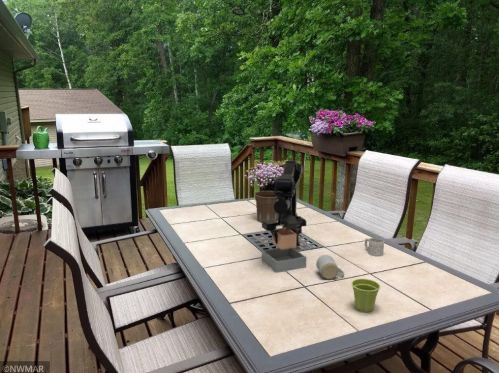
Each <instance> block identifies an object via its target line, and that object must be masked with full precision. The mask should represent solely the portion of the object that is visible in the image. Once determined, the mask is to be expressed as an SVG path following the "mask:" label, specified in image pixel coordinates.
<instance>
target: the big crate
mask: <svg viewBox="0 0 499 373" xmlns="http://www.w3.org/2000/svg"><path fill="white" fill-rule="evenodd" d="M261 261H262V262H263V263H264V264H265V265H266V266H268V267H269V268H270V269H271V270H272V271H273V272H274V273H276V274H277V273H283V272H289V271H294V270H299V269H300V270H301V269H306V268H307V256H306V255H304V254H302V252H300V251H298V250H297V249H296V248H289V249H282V250H281V249H280V248H279V247H276V248H270V249H269V248H268V249H262V250H261Z"/></svg>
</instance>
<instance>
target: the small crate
mask: <svg viewBox="0 0 499 373" xmlns="http://www.w3.org/2000/svg"><path fill="white" fill-rule="evenodd" d="M277 230H278V233H277V240H278V241H277V244H276V243H275V241H274V239H273V236H272V235H271V237H272V238H271V243H272V244H273V245H275V246H276V248H280V249H281V250H282V249H289V248H294V249H296V248H297V246H296V236H297V234H296V233H294V232H293V231H291V230H288V229H286V228H282V227H281V228H277Z"/></svg>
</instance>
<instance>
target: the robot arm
mask: <svg viewBox="0 0 499 373" xmlns="http://www.w3.org/2000/svg"><path fill="white" fill-rule="evenodd" d="M282 171H283V173H282V174H281V175H279V176H278V177H277V180H275V185H274V196H278V199H277V201H276V202H275V204H274V210H275V212H276V213H278V218H276V220H277V221H276V222H273V221H271V220H268V221H263V223H262V222H261V228H262V229H264V230H265V231H266V232H270V234H271V237H272V236H273V239H274V241H275V243H276V244H277V241H278V240H277V233H278V230H277V229H278V227H281V228H286V229H288V230H291V231H293V232H294V233H296V234H297V236H296V247H297V246H301V243H300V242H299V239H300V236H299V235H301V234H302V233H303V228H302V227H306V226H307V224H308V223H307V220H306V219H305V218H304V217H302V216H301V215H298V213H297V206H298V205H297V204H298V203H297V199H298V182H299V181H300V179H301V178H302V176H303V165H302V164H301V163H299V162H298V161H296V160H286V161H285V163H284V164H283V170H282Z"/></svg>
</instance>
